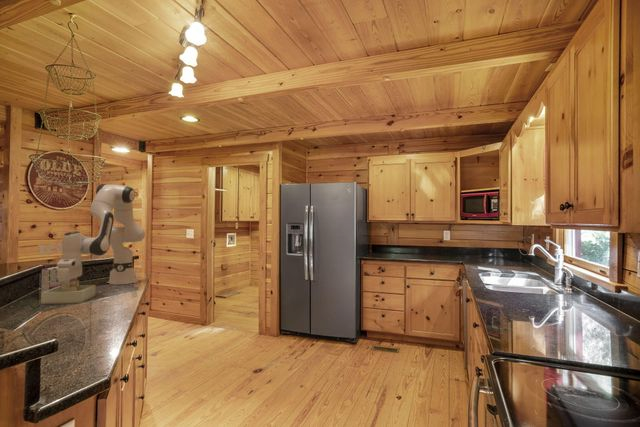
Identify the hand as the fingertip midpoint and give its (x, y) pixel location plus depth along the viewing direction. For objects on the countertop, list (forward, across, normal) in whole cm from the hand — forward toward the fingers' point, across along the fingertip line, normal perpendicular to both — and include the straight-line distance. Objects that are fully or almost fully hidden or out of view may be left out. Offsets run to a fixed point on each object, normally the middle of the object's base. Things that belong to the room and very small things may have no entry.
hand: (70, 287), depth 178 cm
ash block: (+2, 0, 0) cm, 2 cm away
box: (+7, 0, 0) cm, 7 cm away
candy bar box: (+7, -10, -12) cm, 17 cm away
